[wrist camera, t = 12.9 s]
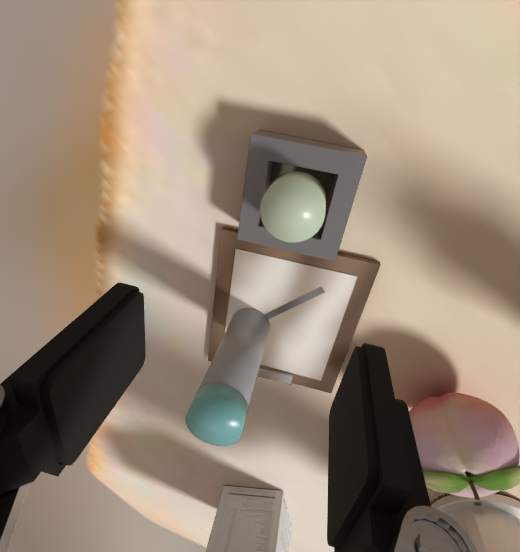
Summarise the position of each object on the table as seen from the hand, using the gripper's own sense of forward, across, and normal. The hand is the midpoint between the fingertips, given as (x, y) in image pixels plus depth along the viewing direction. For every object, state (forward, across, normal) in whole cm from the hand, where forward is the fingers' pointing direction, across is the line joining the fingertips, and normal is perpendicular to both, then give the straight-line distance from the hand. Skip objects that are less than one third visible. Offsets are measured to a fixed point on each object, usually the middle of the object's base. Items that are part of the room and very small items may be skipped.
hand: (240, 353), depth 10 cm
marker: (+19, +2, +14) cm, 24 cm away
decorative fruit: (+20, -19, +18) cm, 33 cm away
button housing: (+20, 0, 0) cm, 20 cm away
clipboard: (+20, -1, +12) cm, 23 cm away
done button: (+17, 0, 0) cm, 17 cm away
